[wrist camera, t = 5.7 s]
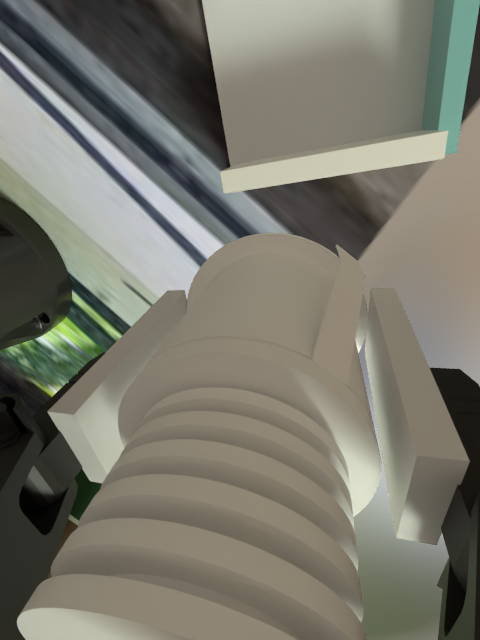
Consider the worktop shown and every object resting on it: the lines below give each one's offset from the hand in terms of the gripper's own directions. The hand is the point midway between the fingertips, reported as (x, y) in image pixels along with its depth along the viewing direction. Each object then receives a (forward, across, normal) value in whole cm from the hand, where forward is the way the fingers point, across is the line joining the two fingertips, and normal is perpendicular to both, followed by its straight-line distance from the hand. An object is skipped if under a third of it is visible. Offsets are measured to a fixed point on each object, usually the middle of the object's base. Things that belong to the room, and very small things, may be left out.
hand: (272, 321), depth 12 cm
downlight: (0, 0, 0) cm, 0 cm away
